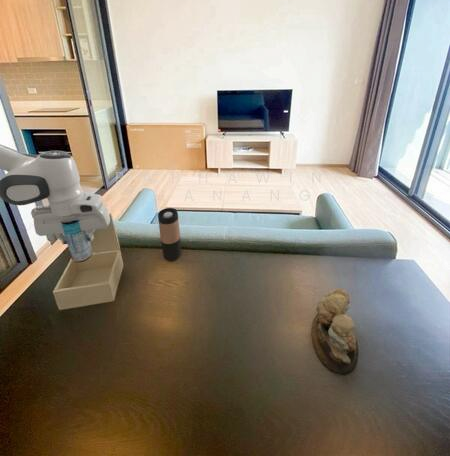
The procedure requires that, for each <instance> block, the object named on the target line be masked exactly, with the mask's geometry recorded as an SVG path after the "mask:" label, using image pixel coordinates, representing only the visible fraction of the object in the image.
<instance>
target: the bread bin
mask: <svg viewBox="0 0 450 456" xmlns="http://www.w3.org/2000/svg"><path fill="white" fill-rule="evenodd" d="M123 268H124V261H123V257H122V251H121V249H118V250H111V251H103V252H95V253H92V255H91V257H90V258H89V259H87V260H86V261H84V262H80V263H77V262H74V261H73V260H72V257H70V260H69V262H68V264H67V265H66V267H65V269H64V271H63V273H62V275H61V276H60V278H59V280H58V282H57V283H56V285H55V287H54V289H53V291H52V295H53V297H54V300H55V303H56V306H57V308H58V310H59V311H62V310H68V309H69V310H70V309H75V308H80V307H81V308H82V307H87V306H93V305H100V304H104V303H106V304H107V303H112V302H115V299H116V295H117V292H118V287H119V284H120V280H121V276H122V272H123V270H124V269H123Z"/></svg>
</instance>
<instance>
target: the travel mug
mask: <svg viewBox="0 0 450 456" xmlns="http://www.w3.org/2000/svg"><path fill="white" fill-rule="evenodd" d="M157 221H158V228H159V236H160V245H161V250H162V254H163V259H164V260H166V261H168V262H174V261H176V260H178V259H180V257H181V255H182V245H181V244H182V243H181V230H180V221H179V213H178V210H177V209H176V208H174V207H166V208H163V209H161V210H159V211H158V213H157Z"/></svg>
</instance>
